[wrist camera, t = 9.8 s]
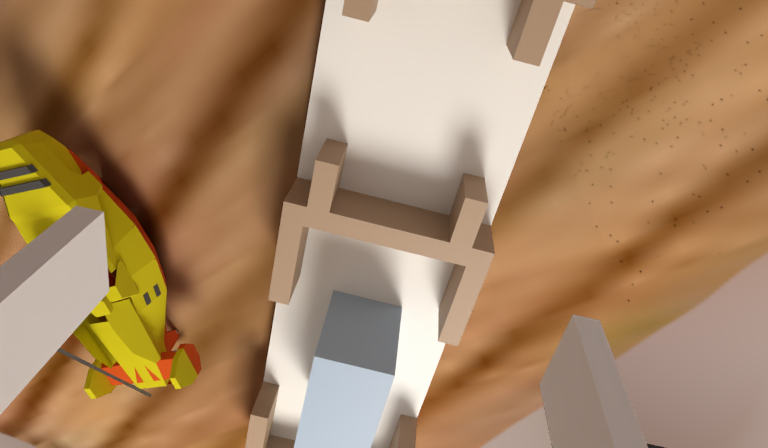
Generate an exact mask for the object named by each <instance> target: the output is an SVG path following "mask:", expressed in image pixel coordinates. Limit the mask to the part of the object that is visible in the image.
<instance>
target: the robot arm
mask: <svg viewBox="0 0 768 448" xmlns="http://www.w3.org/2000/svg"><path fill="white" fill-rule="evenodd" d="M108 292H109V279H108V264H107V250H106V236H105V221H104V212H103V211H98V210H94V209H89V208H85V207H80V206H75V207H74V208H72V209H71V210H70V211H69V212H67V213H66V214H65V215H64V216H62V217H61V218H60V219H59V220H57V221H56V222H55V223H54V224H52V225H51V226H50V227H49V228H47V229H46V230H45V231H44V232H42V233H41V234H40V235H39V236H37V237H36V238H35V239H34V240H32V241H31V242H30V243H29V244H27V245H26V246H25V247H24V248H22V249H21V250H20V251H19V252H17V253H16V254H15V255H14V256H12V257H11V258H10V259H9V260H7V261H6V262H5V263H4V264H2V265H1V266H0V415H1V413H2V412H3V411H4V410H5V409H6V408H7V407H8V406H9V404H10V403H11V402H12V401H13V400H14V399H15V398H16V396H17V395H18V394H19V393H20V392H21V391H22V390H23V389H24V387H25V386H26V385H27V384H28V383H29V382H30V381H31V379H32V378H33V377H34V376H35V375H36V374H37V373H38V372H39V370H40V369H41V368H42V367H43V366H44V365H45V364H46V362H47V361H48V360H49V359H50V358H51V357H52V356H53V355H54V353H55V352H56V351H57V350H58V349H59V348H60V347H61V345H62V344H63V343H64V342H65V341H66V340H67V339H68V338H69V336H70V335H71V334H72V333H73V332H74V331H75V330H76V328H77V327H78V326H79V325H80V324H81V323H82V322H83V320H84V319H85V318H86V317H87V316H88V315H89V314H90V313H91V311H92V310H93V309H94V308H95V307H96V306H97V305H98V303H99V302H100V301H101V300H102V299H103V298H104V297H105V296H106V294H107V293H108ZM539 385H540V390H541V395H542V400H543V405H544V410H545V415H546V419H547V425H548V430H549V434H550V440H551V445H552V448H664V447H660V446H655V445H651V444H647V443H646V441H645V438H644V436H643V433H642V430H641V428H640V425H639V423H638V420H637V417H636V414H635V412H634V409H633V406H632V404H631V401H630V399H629V396H628V393H627V391H626V388H625V385H624V383H623V380H622V377H621V375H620V372H619V370H618V367H617V364H616V362H615V359H614V356H613V354H612V351H611V348H610V346H609V343H608V340H607V338H606V335H605V333H604V330H603V327H602V325H601V322H600V320H596V319H591V318H587V317H582V316H577V315H572V317H571V319H570V322H569V324H568V326H567V328H566V330H565V332H564V334H563V336H562V338H561V340H560V343H559V345H558V347H557V349H556V351H555V353H554V355H553V357H552V359H551V361H550V363H549V366H548V368H547V370H546V372H545V374H544V376H543V378H542V380H541V382H540V384H539Z"/></svg>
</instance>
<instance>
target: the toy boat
mask: <svg viewBox="0 0 768 448" xmlns="http://www.w3.org/2000/svg"><path fill="white" fill-rule="evenodd" d="M0 195H1V196H3V198H4V201H5V205H6V208H7V212H8V215H9V217H10V218H11V220H12V221H13V222H14V223H15V225H16V227H17V228H18V230H19V231H20V233H21V235H22V236H23V238H24V240H25V241H26V243H27V244H29V243H30V242H31V241H32V240H34V239H35V238H36V237H37V236H39V235H40V234H41V233H42V232H44V231H45V230H46V229H47V228H49V227H50V226H51V225H52V224H54V223H55V222H56V221H57V220H59V219H60V218H61V217H62V216H64V215H65V214H66V213H67V212H69V211H70V210H71V209H72V208H74V207H75V206H80V207H85V208H89V209H94V210H98V211H103V212H104V221H105V236H106V250H107V264H108V269H109V270H108V279H109V292H108V293H107V294H106V296H105V297H104V298H103V299H102V300H101V301H100V302H99V303H98V305H97V306H96V307H95V308H94V309H93V310H92V311H91V313H90V314H89V315H88V316H87V317H86V318H85V319H84V320H83V322H82V323H81V324H80V325H79V326H78V327H77V328H76V330H75V331H74V332H73V333H74V335H75V336H76V337H77V338H78V339H79V341H80V342H81V343H82V344H83V345H84V346H85V348H86V349H87V350H88V351H89V352H90V353H91V355H92V356H93V357H94V358H95V359H96V360H95V361H94V363H93V364H90V363H88V362H86V361H84V360H82V359H80V358H78V357H76V356H74V355H72V354H70V353H68V352H66V351H64V350H62V349H60V348H59V349H58V350H57V351H58V352H60V353H62V354H64V355H66V356H68V357H70V358H72V359H74V360H76V361H78V362H80V363H82V364H84V365H86V366H88V367H90V369H89V371H88V375H87V379H86V383H85V387H84V390H85V391H86V392H87V394H88V395H89V397H90V398H91V399H96V398H99V397H101V396H104V395H106V394H109V393H111V392H112V391H113V389H114V388H115V387H116V385H121V384H125V385H127V386H129V387H131V388H133V389H135V390H137V391H139V392H141V393H143V394H145V395H147V396H149V397H151V394H150V393H148V392H146V391H144V390H142V389H143V388H152V387H160V386H166V385H167V384H173V385H174V387H175V389H181V388H183V387H186V386H188V385H190V384H192V383H194V381H195V379H196V377H197V376H198V374H199V372H200V370H201V364H200V357H199V354H198V352H197V350H196V348H195V347H194V345H193V344H180V346H179V348H178V350H174V351H171V349H172V348H173V346H174V344H175V343H176V341H177V340H178V338H179V336H180V334H179V333H178V332H177V330H171V331H169V332H167V330H166V325H165V314H166V297H167V286H166V280H165V276H164V273H163V270H162V268H161V265H160V262H159V259H158V256H157V253H156V250H155V247H154V246H153V244H152V242H151V241H150V239H149V238H148V236H147V234H146V233H145V231H144V229H143V228H142V226H141V225H140V223H139V221H138V220H137V218H136V216H135V215H134V214H133V213H132V212H131V211H130V210H129V209H128V208H127V207H126V206H125V205H124V204H123V203H122V202H121V200H120V199H119V198H118V197H117V196H116V195H115V194H114V193H113V192H111V191H110V190H109V188H108V187H107V186H106V185H105V183H104V182H103V181H102V179H101V178H100V177H99V176H98V175H97V174H96V173H95V172H94V171H93V170H92V169H90V168H89V167H88V166H87V165H86V164H85V163H84V162H83V161H82V160H81V159H80V158H79V157H78V156H77V155H76V154H75V153H73V152H72V151H71V150H70V149H68V148H66V147H65V146H64V145H62V144H61V143H60V142H58V141H57V140H55V139H54V138H53V137H51V136H49V135H47V134H46V133H44V132H42V131H40V130H35V131H31V132H27V133H25V134H22V135H19V136H16V137H14V138H11V139H8V140H5V141H3V142H0ZM115 269H117V273H116V281H115V279H114V278H113V276H112V275H111V273H112V272H113V271H114V270H115ZM109 271H110V272H111V273H110V272H109ZM132 383H135V385H136V386H137V387H136V386H134V385H132Z"/></svg>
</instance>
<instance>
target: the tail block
mask: <svg viewBox="0 0 768 448" xmlns="http://www.w3.org/2000/svg"><path fill="white" fill-rule="evenodd" d="M401 314H402V307H400V306H396V305H392V304H388V303H384V302H380V301H376V300H372V299H368V298H363V297H359V296H355V295H351V294H347V293H343V292H339V291H335V290H333V294H332V297H331V300H330V304H329V307H328V311H327V314H326V318H325V321H324V324H323V328H322V331H321V335H320V338H319V341H318V345H317V348H316V352H315V355H314V359H313V364H312V368H311V373H310V377H309V382H308V386H307V391H306V395H305V400H304V404H303V408H302V413H301V417H300V422H299V426H298V431H297V435H296V440H295V444H294V448H371V446H372V443H373V440H374V437H375V434H376V431H377V428H378V425H379V422H380V419H381V416H382V413H383V410H384V407H385V404H386V401H387V398H388V395H389V392H390V389H391V386H392V383H393V380H394V377H395V370H396V361H397V351H398V342H399V333H400V323H401Z"/></svg>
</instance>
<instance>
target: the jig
mask: <svg viewBox="0 0 768 448" xmlns="http://www.w3.org/2000/svg"><path fill="white" fill-rule="evenodd" d="M595 2H596V0H326V4H325V10H324V16H323V22H322V28H321V34H320V40H319V46H318V52H317V58H316V64H315V70H314V76H313V83H312V89H311V95H310V101H309V107H308V113H307V119H306V125H305V131H304V137H303V143H302V149H301V155H300V161H299V167H298V174H297V178H296V180H295V182H294V183H293V185H292V187H291V189H290V191H289V192H288V194H287V196H286V198H285V200H284V202H283V208H282V215H281V221H280V228H279V234H278V240H277V247H276V253H275V260H274V266H273V273H272V279H271V286H270V292H269V299H268V300H270V301H274V302H276V307H275V313H274V319H273V325H272V331H271V337H270V344H269V350H268V356H267V362H266V368H265V374H264V380H263V383H262V386H261V389H260V391H259V394H258V396H257V399H256V402H255V404H254V407H253V409H252V412H251V415H250V421H249V428H248V434H247V441H246V447H245V448H294V444H295V440H296V435H297V431H298V426H299V422H300V417H301V413H302V408H303V404H304V400H305V395H306V391H307V386H308V382H309V377H310V373H311V368H312V364H313V359H314V355H315V352H316V348H317V345H318V341H319V338H320V335H321V331H322V328H323V324H324V321H325V318H326V314H327V311H328V307H329V304H330V300H331V297H332V294H333V290H335V291H339V292H343V293H347V294H351V295H355V296H359V297H363V298H368V299H372V300H376V301H380V302H384V303H388V304H392V305H396V306H400V307H402V314H401V323H400V333H399V342H398V351H397V361H396V370H395V377H394V380H393V383H392V386H391V389H390V392H389V395H388V398H387V401H386V404H385V407H384V410H383V413H382V416H381V419H380V422H379V425H378V428H377V431H376V434H375V437H374V440H373V443H372V446H371V448H415V443H416V425H417V416H418V414H419V411H420V409H421V406H422V403H423V401H424V398H425V396H426V393H427V390H428V388H429V385H430V383H431V380H432V377H433V375H434V372H435V370H436V367H437V364H438V362H439V359H440V356H441V354H442V351H443V349H444V346H445V343H447V344H451V345H455V346H458V344H459V342H460V339H461V337H462V334H463V332H464V329H465V327H466V324H467V322H468V319H469V317H470V314H471V312H472V309H473V307H474V304H475V302H476V299H477V297H478V294H479V292H480V289H481V287H482V284H483V282H484V279H485V277H486V274H487V272H488V269H489V267H490V264H491V262H492V259H493V257H494V254H495V252H494V245H493V238H492V231H491V223H492V221H493V218H494V216H495V213H496V210H497V208H498V205H499V203H500V200H501V197H502V195H503V192H504V190H505V187H506V184H507V182H508V179H509V177H510V174H511V171H512V169H513V166H514V163H515V161H516V158H517V156H518V153H519V150H520V148H521V145H522V143H523V140H524V137H525V135H526V132H527V130H528V127H529V124H530V122H531V119H532V117H533V114H534V111H535V109H536V106H537V103H538V101H539V98H540V96H541V93H542V90H543V88H544V85H545V83H546V80H547V77H548V75H549V72H550V70H551V67H552V64H553V62H554V59H555V57H556V54H557V51H558V49H559V46H560V44H561V41H562V38H563V36H564V33H565V30H566V28H567V25H568V23H569V20H570V17H571V15H572V12H573V10H574V7H575V5H579V6H583V7H587V8H591V9H593V7H594V5H595Z"/></svg>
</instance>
